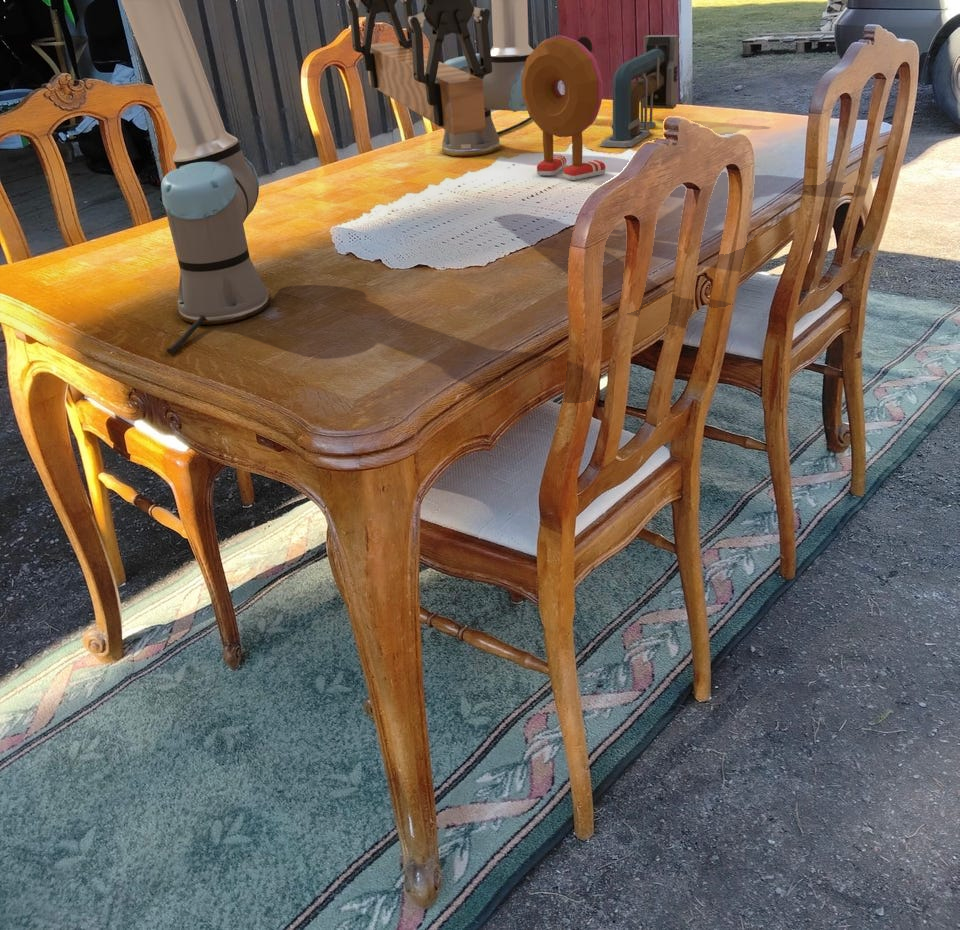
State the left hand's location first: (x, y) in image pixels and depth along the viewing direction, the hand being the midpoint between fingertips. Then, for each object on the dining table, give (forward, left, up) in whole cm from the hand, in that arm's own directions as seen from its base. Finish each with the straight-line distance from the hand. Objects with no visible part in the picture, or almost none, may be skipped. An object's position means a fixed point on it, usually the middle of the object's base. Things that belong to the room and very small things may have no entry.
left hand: (456, 121), depth 165 cm
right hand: (+37, +27, 0) cm, 46 cm away
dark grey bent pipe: (+105, -15, -25) cm, 109 cm away
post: (+19, +13, -1) cm, 23 cm away
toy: (+62, -5, -25) cm, 67 cm away
